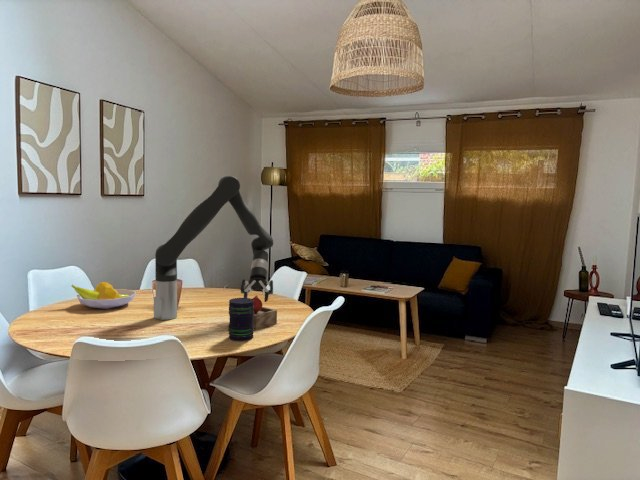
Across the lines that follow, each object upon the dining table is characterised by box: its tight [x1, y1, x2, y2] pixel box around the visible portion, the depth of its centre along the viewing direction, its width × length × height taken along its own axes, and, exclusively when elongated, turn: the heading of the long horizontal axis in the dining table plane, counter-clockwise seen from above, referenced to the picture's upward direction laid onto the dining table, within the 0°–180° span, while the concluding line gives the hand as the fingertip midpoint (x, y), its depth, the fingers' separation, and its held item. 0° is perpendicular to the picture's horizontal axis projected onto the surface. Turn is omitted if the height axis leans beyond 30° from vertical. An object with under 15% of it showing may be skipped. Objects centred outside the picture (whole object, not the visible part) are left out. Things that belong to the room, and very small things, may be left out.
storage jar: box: [228, 297, 255, 342], centre depth 182 cm, size 10×10×15 cm
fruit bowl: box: [71, 281, 137, 310], centre depth 228 cm, size 28×27×11 cm
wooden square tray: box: [253, 306, 278, 331], centre depth 202 cm, size 13×13×6 cm
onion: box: [252, 295, 263, 313], centre depth 202 cm, size 6×6×8 cm
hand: (255, 300), depth 200 cm, fingers open, 8 cm apart
